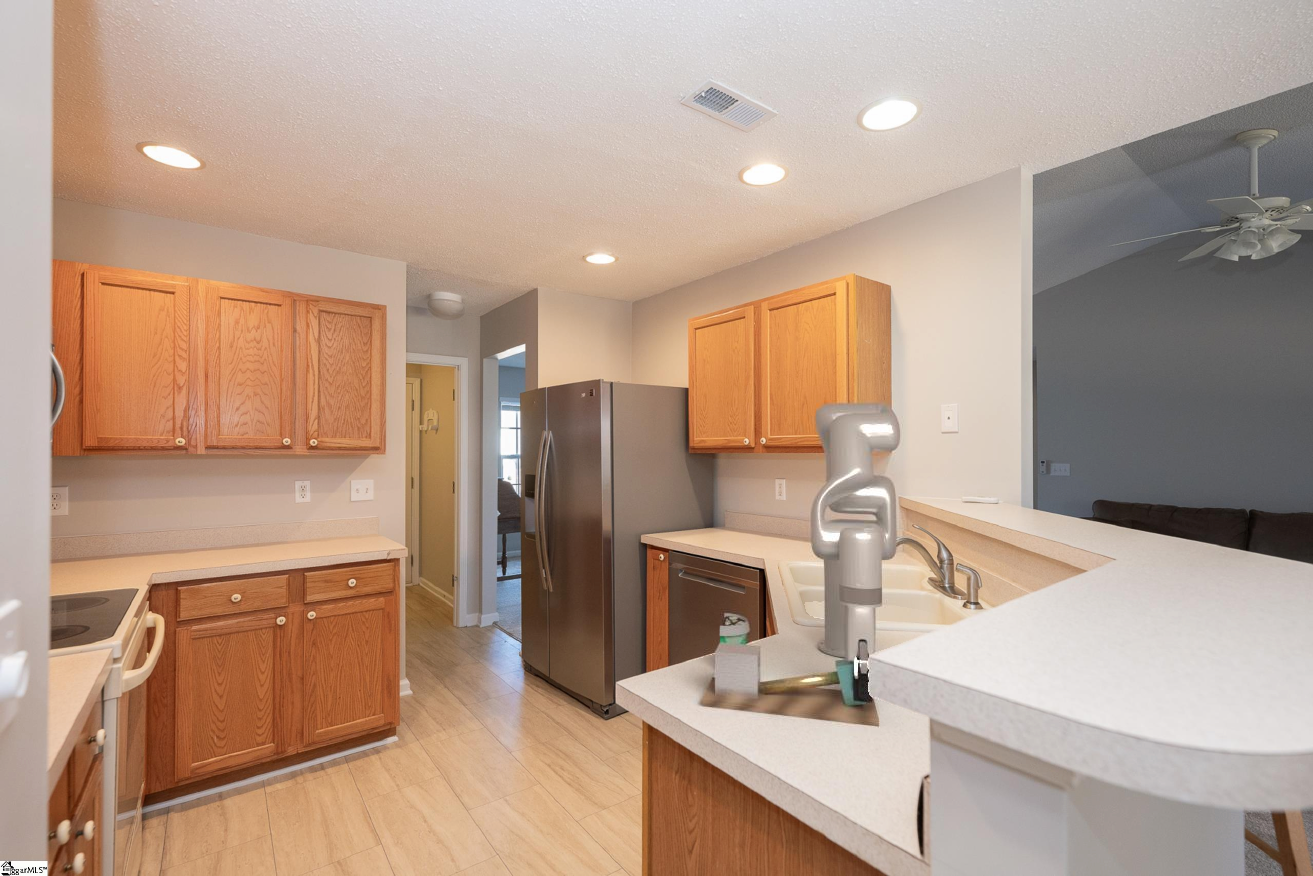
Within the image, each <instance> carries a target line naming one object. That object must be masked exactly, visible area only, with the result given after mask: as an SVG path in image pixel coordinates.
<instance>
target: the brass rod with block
mask: <svg viewBox="0 0 1313 876" xmlns="http://www.w3.org/2000/svg"><path fill="white" fill-rule="evenodd" d="M834 663H835V668H836V670H834V671H828V672H821V673H815V674H807V675H800V676H794V677H793V676H792V677H786V678H779V679H773V680H767V681H766V680H765V681H761V682H762V687H763V692H764V694H770V693H777V692H784V691H791V690H799V689H806V688H813V687H816V688H821V687H826V686H833V685H840V688H841V689H840V690H842V693H843V697H844V701H845V705H846V706H852V705H859V704H866V702H859V701H854V699H853V677H855V673H854V661H851V660H850V662H848V661H847V660H846V658H845V659H844V658H843V659H837V660H835V662H834Z"/></svg>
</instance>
